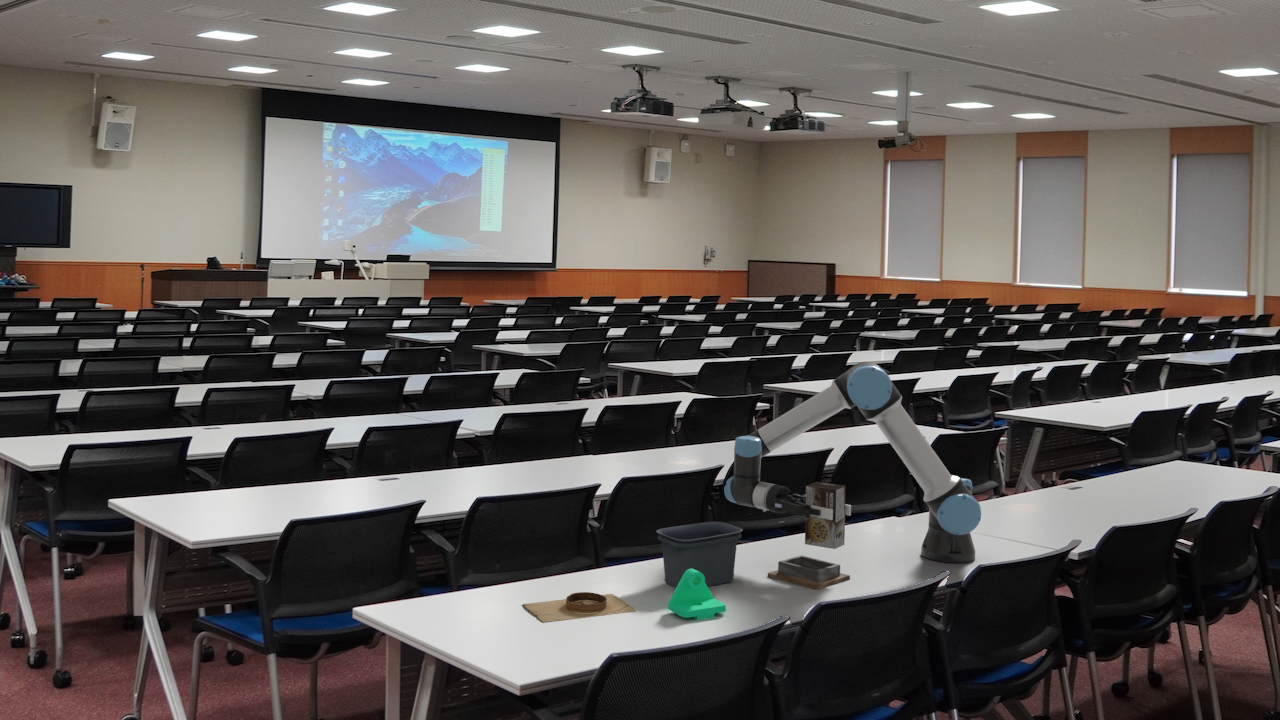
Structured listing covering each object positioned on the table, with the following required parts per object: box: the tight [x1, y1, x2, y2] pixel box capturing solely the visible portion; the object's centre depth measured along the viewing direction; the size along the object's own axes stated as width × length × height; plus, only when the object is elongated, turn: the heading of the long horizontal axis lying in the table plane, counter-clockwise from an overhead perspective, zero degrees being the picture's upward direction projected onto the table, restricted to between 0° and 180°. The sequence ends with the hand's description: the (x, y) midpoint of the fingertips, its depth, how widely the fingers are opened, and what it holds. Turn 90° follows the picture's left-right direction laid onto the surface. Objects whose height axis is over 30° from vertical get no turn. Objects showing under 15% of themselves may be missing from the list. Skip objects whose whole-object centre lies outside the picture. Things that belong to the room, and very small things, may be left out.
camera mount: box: [667, 569, 727, 621], centre depth 277 cm, size 12×8×10 cm, turn 119°
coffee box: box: [804, 481, 847, 550], centre depth 309 cm, size 9×6×16 cm
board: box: [521, 591, 637, 624], centre depth 280 cm, size 25×15×3 cm, turn 116°
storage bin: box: [656, 521, 744, 589], centre depth 304 cm, size 21×16×14 cm
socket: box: [767, 554, 851, 590], centre depth 310 cm, size 15×16×4 cm
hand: (841, 512), depth 305 cm, fingers closed on coffee box, 7 cm apart
